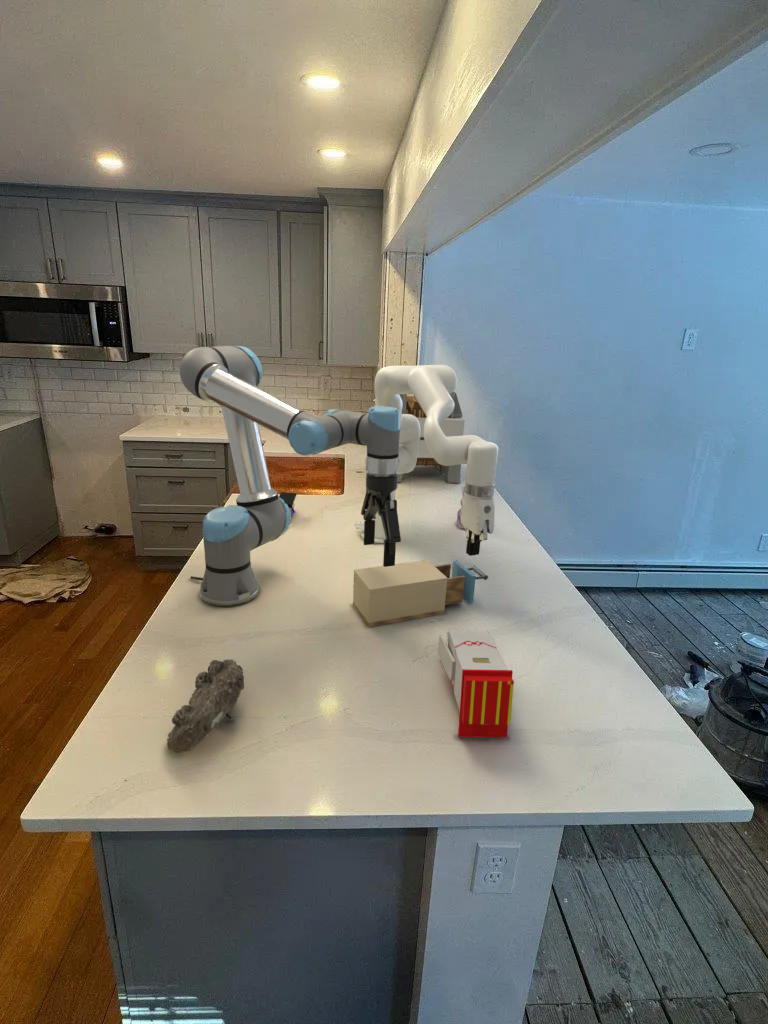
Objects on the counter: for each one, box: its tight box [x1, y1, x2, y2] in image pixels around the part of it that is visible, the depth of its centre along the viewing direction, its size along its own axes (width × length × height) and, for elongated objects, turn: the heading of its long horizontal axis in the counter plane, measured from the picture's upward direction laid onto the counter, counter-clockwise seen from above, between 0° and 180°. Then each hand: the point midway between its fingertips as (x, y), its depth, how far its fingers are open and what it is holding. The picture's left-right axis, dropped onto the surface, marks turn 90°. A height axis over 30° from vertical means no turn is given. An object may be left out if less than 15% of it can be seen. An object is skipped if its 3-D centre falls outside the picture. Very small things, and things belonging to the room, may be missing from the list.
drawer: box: [434, 559, 489, 606], centre depth 153 cm, size 25×10×8 cm, turn 112°
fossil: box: [166, 658, 245, 754], centre depth 106 cm, size 22×10×15 cm
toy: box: [437, 628, 515, 738], centre depth 117 cm, size 12×13×30 cm
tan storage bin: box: [352, 559, 447, 627], centre depth 148 cm, size 21×12×10 cm, turn 112°
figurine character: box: [278, 492, 298, 518], centre depth 210 cm, size 7×8×15 cm
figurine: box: [455, 485, 465, 530], centre depth 208 cm, size 9×10×15 cm
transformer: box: [397, 390, 465, 484], centre depth 268 cm, size 34×33×41 cm
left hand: (378, 554), depth 142 cm, fingers open, 13 cm apart
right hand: (472, 553), depth 153 cm, fingers closed
